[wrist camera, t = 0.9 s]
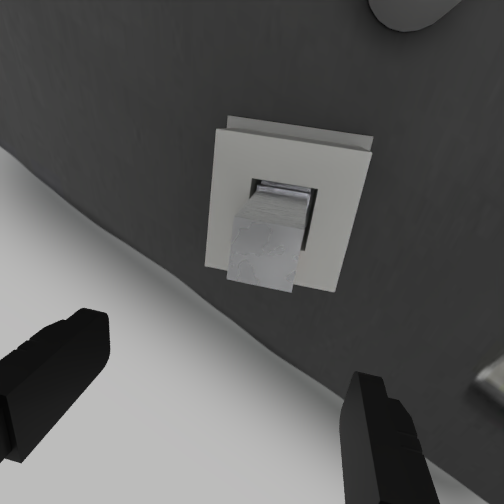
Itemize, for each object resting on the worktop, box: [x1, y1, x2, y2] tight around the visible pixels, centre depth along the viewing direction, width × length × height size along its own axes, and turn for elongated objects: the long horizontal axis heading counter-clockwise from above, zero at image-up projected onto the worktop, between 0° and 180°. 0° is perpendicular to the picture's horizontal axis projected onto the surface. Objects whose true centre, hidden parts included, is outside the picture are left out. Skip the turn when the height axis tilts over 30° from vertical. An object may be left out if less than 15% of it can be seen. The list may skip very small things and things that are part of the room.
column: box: [227, 180, 311, 292], centre depth 26 cm, size 4×4×16 cm
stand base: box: [205, 116, 373, 292], centre depth 30 cm, size 14×14×9 cm
